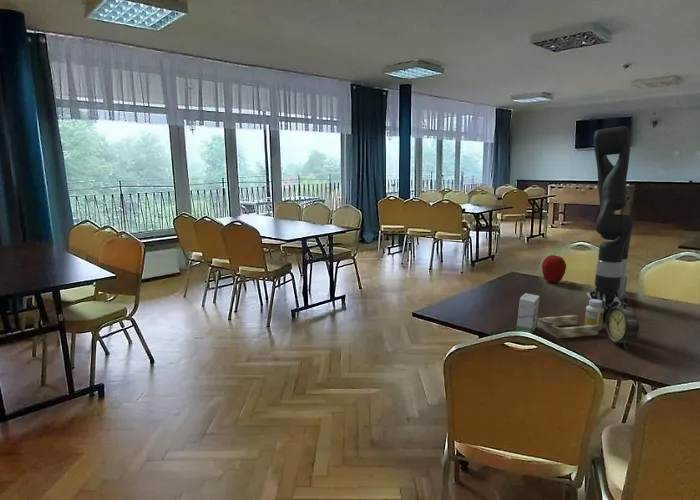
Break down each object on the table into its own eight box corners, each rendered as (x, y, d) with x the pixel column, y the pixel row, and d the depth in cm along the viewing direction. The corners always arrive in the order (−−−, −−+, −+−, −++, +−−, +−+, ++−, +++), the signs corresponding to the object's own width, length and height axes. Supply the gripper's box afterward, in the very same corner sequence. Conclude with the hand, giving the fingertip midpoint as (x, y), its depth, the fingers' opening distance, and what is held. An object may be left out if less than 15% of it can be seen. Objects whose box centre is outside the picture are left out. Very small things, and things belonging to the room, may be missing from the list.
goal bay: (575, 323, 163) (576, 313, 162) (598, 334, 152) (599, 324, 152) (536, 326, 160) (537, 317, 159) (557, 338, 149) (558, 328, 148)
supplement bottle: (597, 325, 161) (600, 298, 159) (604, 330, 155) (608, 303, 154) (581, 324, 161) (584, 298, 159) (588, 330, 156) (591, 303, 154)
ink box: (521, 325, 161) (523, 292, 159) (537, 328, 158) (539, 294, 156) (515, 333, 154) (518, 298, 151) (531, 336, 151) (534, 301, 149)
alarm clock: (602, 337, 150) (608, 289, 147) (619, 337, 150) (625, 289, 147) (621, 351, 139) (628, 300, 136) (639, 351, 139) (646, 300, 136)
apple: (544, 285, 211) (546, 255, 208) (537, 279, 220) (540, 250, 218) (567, 285, 210) (570, 255, 207) (560, 279, 219) (563, 251, 217)
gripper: (634, 277, 150) (627, 328, 153) (603, 268, 162) (598, 315, 166) (614, 279, 148) (608, 330, 152) (584, 269, 160) (580, 316, 164)
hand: (603, 322), depth 159 cm, fingers closed
